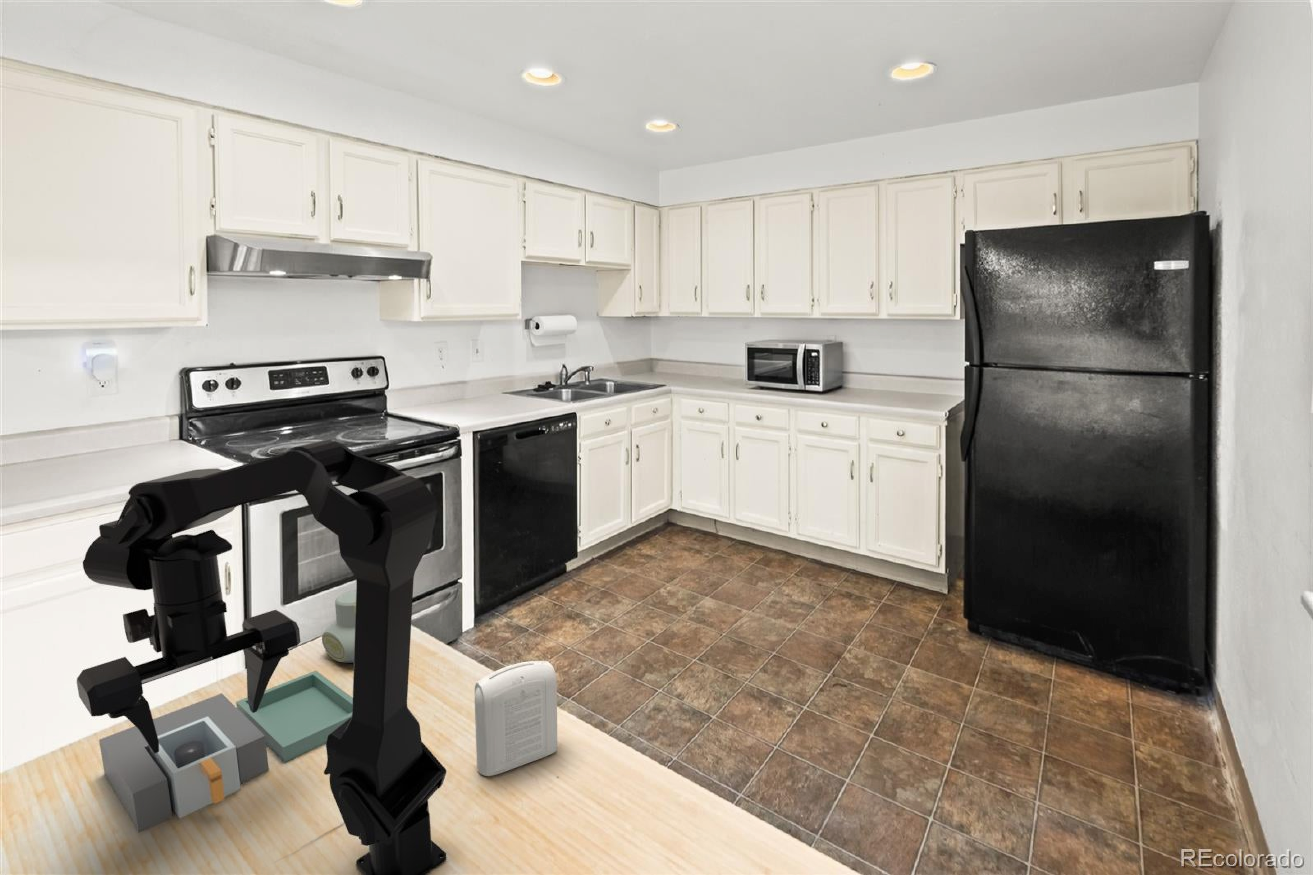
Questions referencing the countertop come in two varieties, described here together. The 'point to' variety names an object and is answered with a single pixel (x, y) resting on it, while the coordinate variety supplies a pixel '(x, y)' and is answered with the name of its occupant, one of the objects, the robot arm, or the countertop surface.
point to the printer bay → (142, 777)
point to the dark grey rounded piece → (189, 753)
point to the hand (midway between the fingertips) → (206, 730)
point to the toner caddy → (198, 767)
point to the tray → (299, 714)
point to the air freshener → (342, 629)
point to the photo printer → (515, 716)
